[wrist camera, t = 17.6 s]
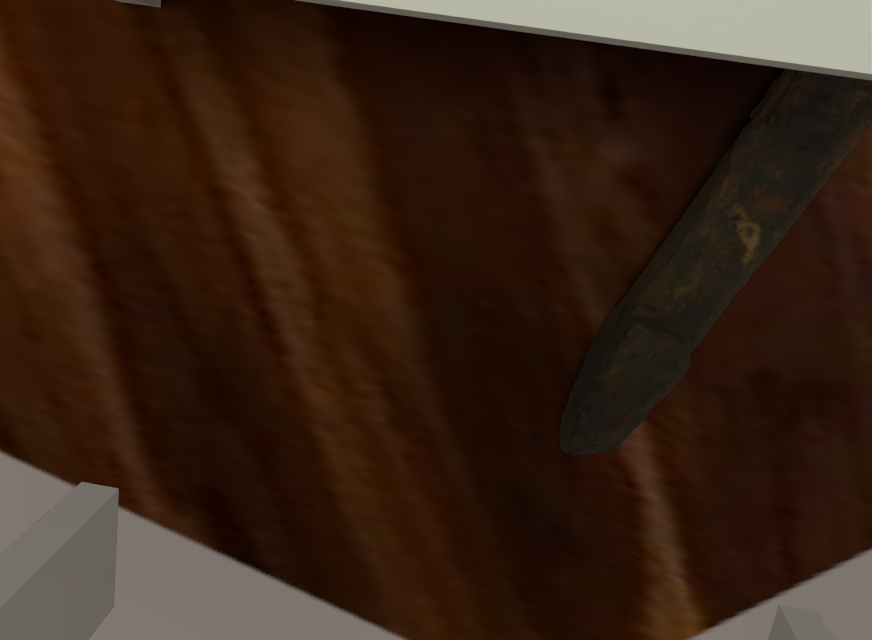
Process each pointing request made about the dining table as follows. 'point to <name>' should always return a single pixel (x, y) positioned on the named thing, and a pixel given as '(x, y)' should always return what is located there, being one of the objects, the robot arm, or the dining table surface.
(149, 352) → the dining table surface
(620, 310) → the hand tool
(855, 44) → the low shelf
